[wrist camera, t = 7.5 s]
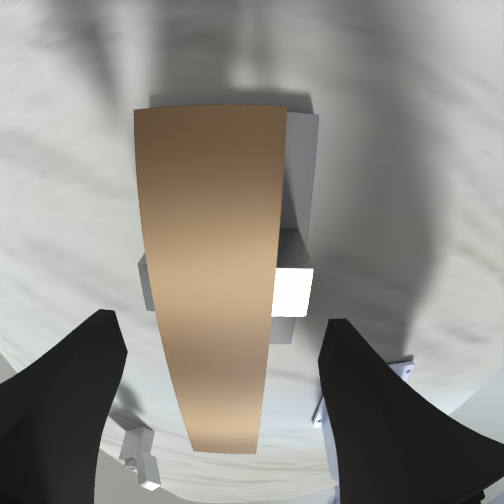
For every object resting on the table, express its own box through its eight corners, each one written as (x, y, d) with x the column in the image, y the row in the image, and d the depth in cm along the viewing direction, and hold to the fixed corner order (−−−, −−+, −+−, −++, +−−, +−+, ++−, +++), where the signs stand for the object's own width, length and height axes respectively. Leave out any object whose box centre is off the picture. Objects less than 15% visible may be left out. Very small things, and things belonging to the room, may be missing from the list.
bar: (254, 391, 15) (255, 453, 11) (201, 389, 15) (193, 451, 11) (271, 108, 9) (287, 106, 5) (179, 108, 8) (133, 109, 5)
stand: (289, 333, 20) (298, 391, 15) (173, 329, 19) (158, 386, 15) (314, 114, 13) (345, 117, 9) (153, 112, 13) (111, 116, 8)
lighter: (136, 437, 28) (124, 490, 21) (125, 431, 28) (111, 485, 21) (170, 427, 26) (160, 490, 19) (158, 420, 26) (145, 485, 19)
